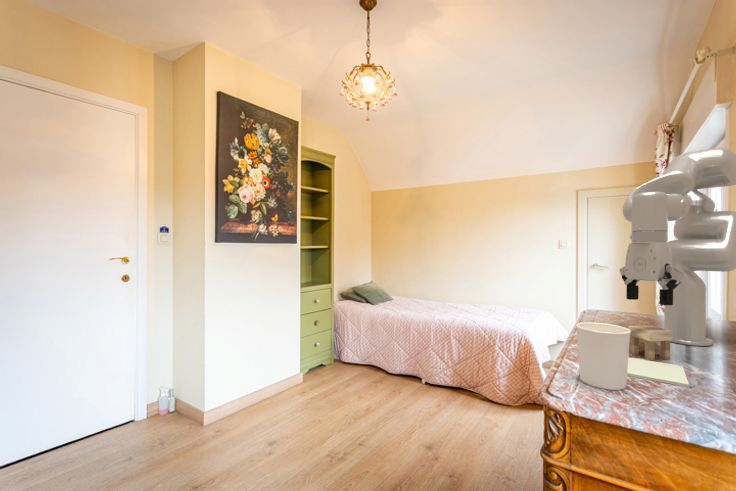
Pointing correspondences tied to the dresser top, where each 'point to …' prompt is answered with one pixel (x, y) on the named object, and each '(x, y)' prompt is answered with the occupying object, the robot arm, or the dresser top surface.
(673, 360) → the dresser top surface
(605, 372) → the candle holder
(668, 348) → the footstool
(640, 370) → the felt mat
